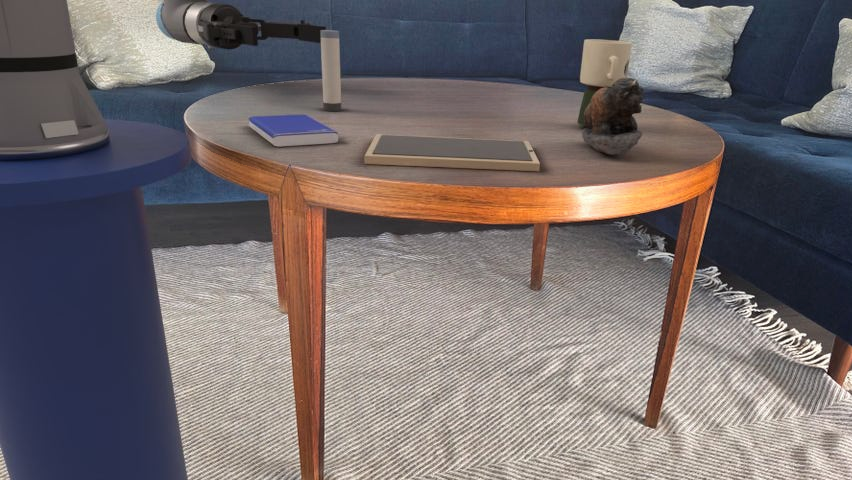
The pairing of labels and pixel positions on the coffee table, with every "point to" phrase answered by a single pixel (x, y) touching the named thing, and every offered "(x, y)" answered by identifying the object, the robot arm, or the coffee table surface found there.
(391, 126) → the coffee table surface
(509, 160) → the tablet
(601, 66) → the character mug
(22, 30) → the robot arm
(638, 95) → the bison figurine
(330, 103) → the stylus
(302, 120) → the blue book
